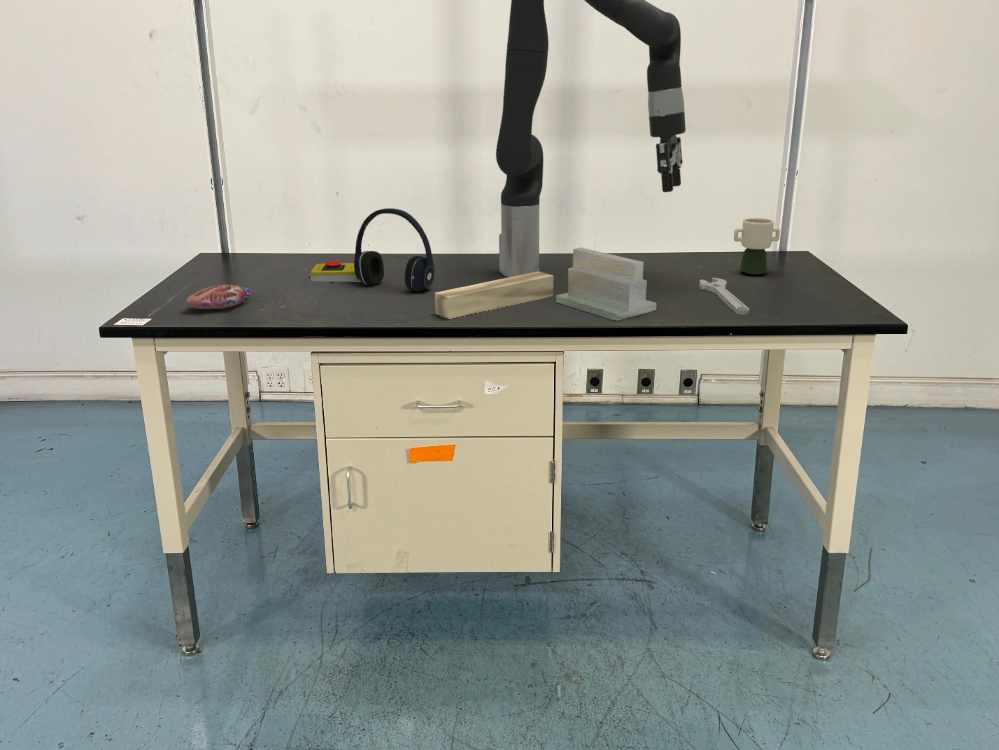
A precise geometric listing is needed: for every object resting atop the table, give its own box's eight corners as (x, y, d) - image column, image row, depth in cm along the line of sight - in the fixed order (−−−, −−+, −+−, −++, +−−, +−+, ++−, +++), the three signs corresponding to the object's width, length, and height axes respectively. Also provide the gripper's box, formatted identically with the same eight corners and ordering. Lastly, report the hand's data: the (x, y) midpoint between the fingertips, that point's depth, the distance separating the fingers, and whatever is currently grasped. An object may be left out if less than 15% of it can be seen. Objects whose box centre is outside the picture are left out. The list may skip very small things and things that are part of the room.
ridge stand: (555, 302, 174) (556, 252, 170) (595, 292, 181) (596, 244, 177) (616, 321, 161) (618, 267, 157) (656, 309, 168) (659, 258, 164)
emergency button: (309, 258, 199) (370, 257, 199) (311, 276, 200) (371, 275, 201) (302, 267, 190) (366, 266, 190) (304, 285, 192) (367, 284, 192)
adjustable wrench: (750, 317, 165) (751, 309, 164) (719, 317, 165) (719, 309, 164) (723, 284, 188) (723, 277, 187) (695, 284, 188) (696, 277, 187)
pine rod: (435, 315, 167) (434, 292, 165) (538, 292, 183) (538, 271, 181) (449, 321, 164) (448, 297, 162) (553, 297, 179) (553, 275, 177)
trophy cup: (770, 269, 199) (776, 217, 194) (779, 277, 192) (786, 223, 187) (726, 270, 199) (731, 217, 194) (734, 277, 192) (739, 223, 187)
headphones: (439, 288, 186) (436, 209, 179) (423, 296, 180) (419, 214, 174) (368, 279, 195) (363, 203, 188) (351, 286, 189) (345, 208, 182)
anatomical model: (235, 320, 169) (263, 287, 181) (225, 296, 166) (255, 265, 178) (190, 324, 171) (221, 292, 184) (180, 300, 168) (212, 269, 181)
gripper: (656, 112, 179) (662, 186, 184) (641, 116, 167) (647, 195, 172) (690, 108, 176) (695, 183, 181) (677, 112, 164) (682, 192, 169)
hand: (672, 188), depth 176 cm, fingers open, 8 cm apart
